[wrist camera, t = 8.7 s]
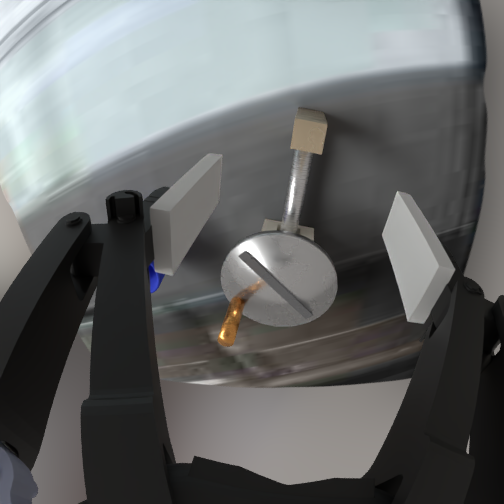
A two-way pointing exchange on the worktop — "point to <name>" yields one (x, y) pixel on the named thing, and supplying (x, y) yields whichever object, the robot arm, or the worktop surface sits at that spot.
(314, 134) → the hook rod
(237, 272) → the handwheel
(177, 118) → the worktop surface
